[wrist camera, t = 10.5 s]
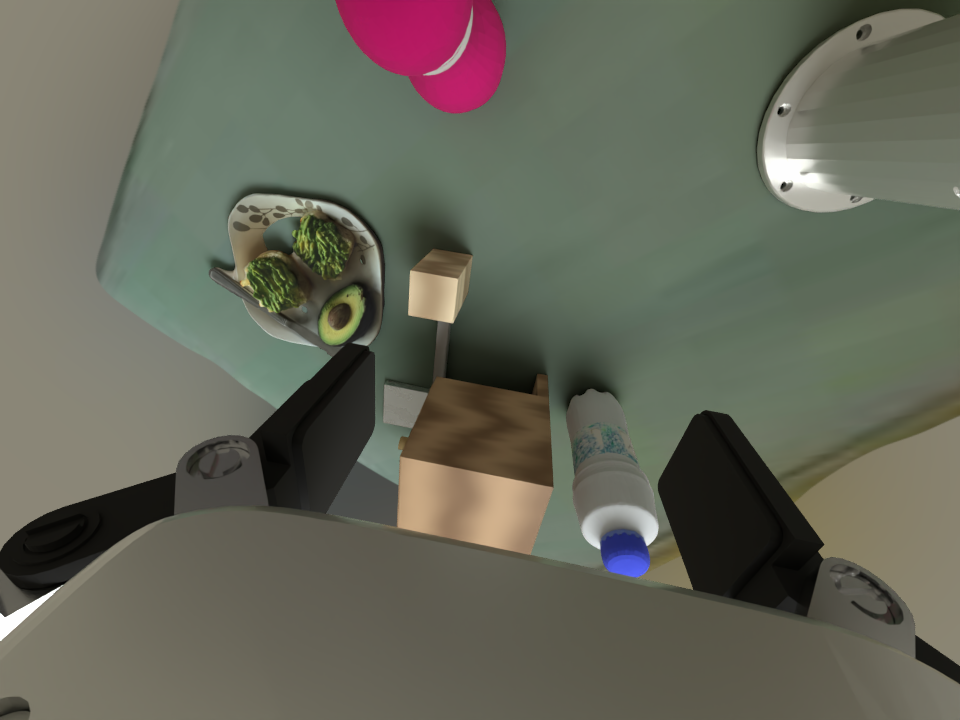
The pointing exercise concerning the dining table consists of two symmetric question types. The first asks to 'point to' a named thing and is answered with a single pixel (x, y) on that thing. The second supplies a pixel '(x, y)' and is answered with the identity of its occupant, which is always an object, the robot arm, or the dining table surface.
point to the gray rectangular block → (403, 403)
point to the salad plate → (307, 272)
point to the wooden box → (478, 465)
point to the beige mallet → (440, 296)
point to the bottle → (610, 484)
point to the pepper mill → (433, 46)
